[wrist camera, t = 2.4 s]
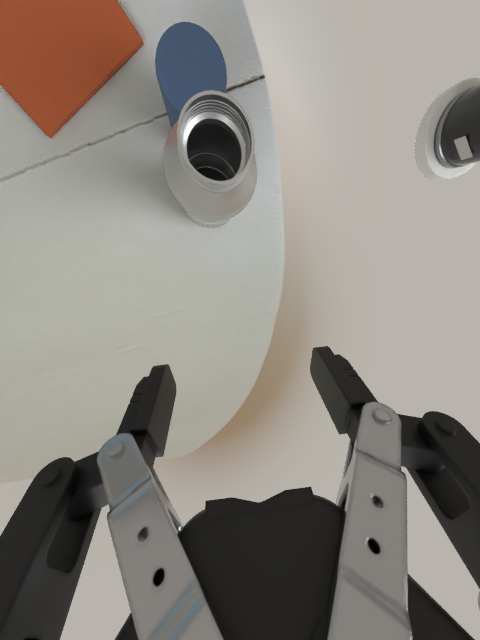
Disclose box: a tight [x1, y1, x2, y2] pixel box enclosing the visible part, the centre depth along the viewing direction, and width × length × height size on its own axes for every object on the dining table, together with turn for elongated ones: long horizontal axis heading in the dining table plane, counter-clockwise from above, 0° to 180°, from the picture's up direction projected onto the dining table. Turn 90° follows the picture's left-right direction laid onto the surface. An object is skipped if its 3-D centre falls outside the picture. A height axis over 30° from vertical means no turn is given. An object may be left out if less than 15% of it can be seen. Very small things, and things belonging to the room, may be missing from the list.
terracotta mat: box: [0, 0, 143, 138], centre depth 20 cm, size 14×12×1 cm
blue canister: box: [155, 22, 227, 127], centre depth 21 cm, size 6×6×9 cm
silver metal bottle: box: [163, 90, 257, 228], centre depth 19 cm, size 6×7×20 cm
